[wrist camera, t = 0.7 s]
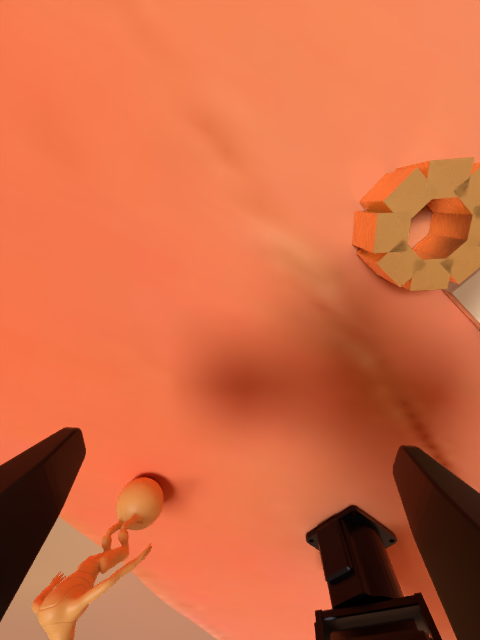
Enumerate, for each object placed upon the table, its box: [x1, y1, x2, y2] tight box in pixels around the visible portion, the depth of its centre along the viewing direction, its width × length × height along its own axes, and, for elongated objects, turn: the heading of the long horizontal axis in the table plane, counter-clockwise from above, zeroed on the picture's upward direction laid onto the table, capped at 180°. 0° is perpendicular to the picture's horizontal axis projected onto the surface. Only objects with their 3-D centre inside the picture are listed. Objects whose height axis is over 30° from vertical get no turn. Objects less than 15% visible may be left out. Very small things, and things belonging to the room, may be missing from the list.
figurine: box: [32, 477, 163, 640], centre depth 22 cm, size 8×6×12 cm
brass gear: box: [353, 157, 480, 291], centre depth 16 cm, size 6×6×4 cm
